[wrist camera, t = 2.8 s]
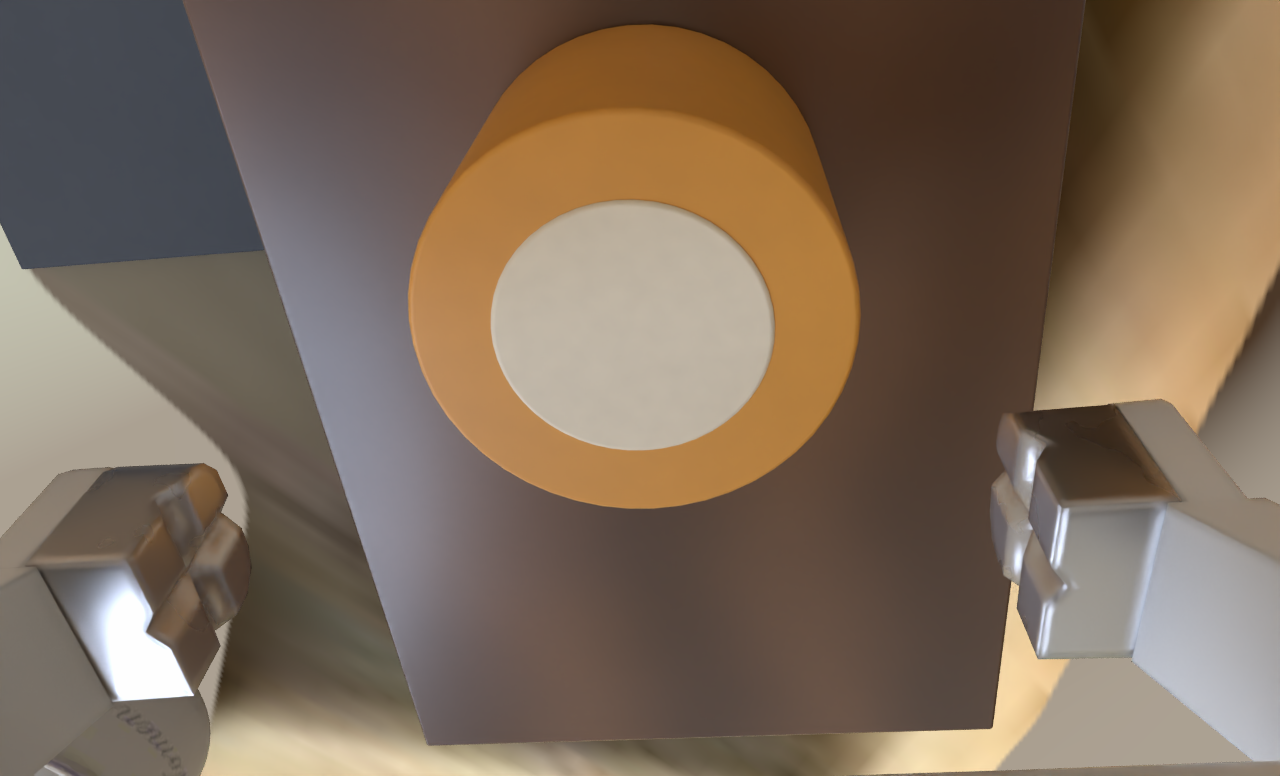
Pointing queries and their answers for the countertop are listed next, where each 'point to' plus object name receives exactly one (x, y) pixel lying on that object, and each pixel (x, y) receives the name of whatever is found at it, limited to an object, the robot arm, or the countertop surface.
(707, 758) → the countertop surface
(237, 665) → the countertop surface
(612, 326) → the tape roll
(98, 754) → the teacup
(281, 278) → the shelf
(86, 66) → the mat
